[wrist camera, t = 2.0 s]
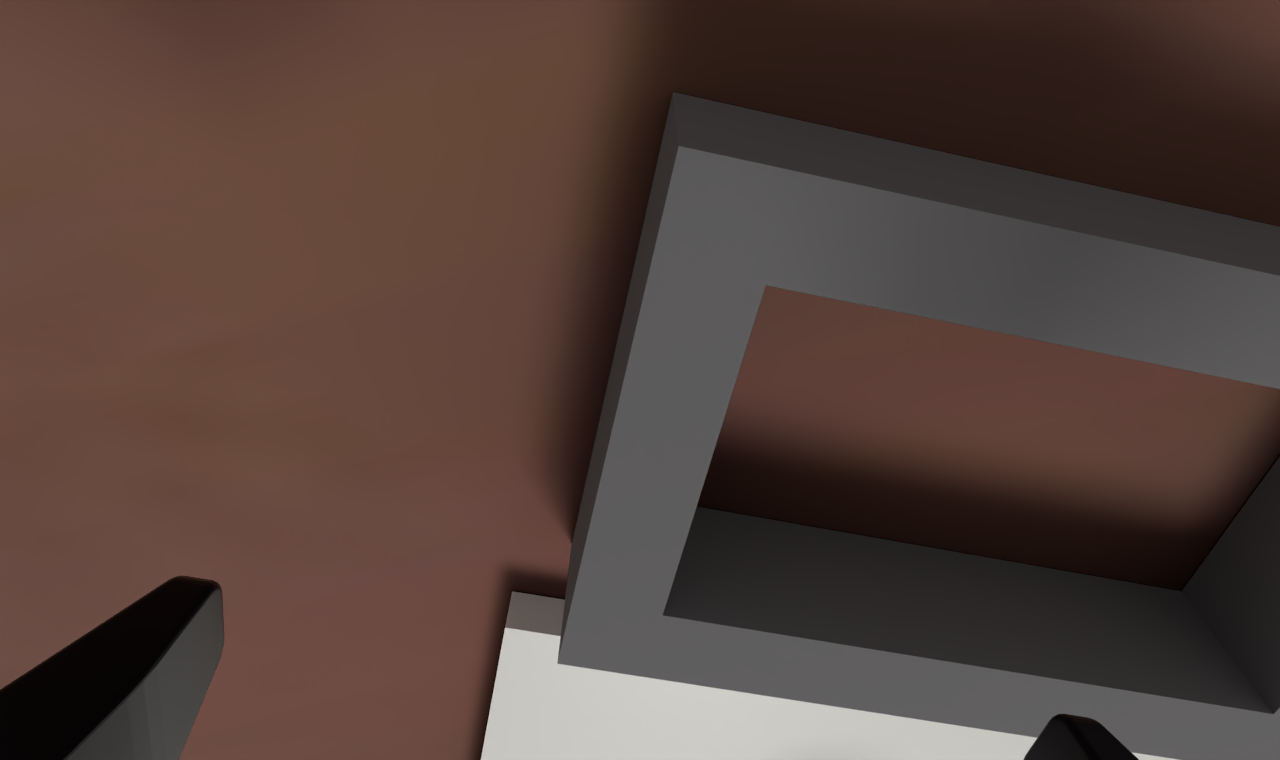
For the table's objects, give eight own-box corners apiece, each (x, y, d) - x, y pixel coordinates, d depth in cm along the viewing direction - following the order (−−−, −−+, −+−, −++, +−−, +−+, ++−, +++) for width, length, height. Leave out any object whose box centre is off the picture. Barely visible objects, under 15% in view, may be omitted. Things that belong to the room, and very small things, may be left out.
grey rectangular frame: (571, 545, 17) (557, 664, 14) (673, 92, 13) (678, 145, 10) (1208, 652, 18) (1300, 778, 16) (1505, 276, 14) (1700, 366, 11)
